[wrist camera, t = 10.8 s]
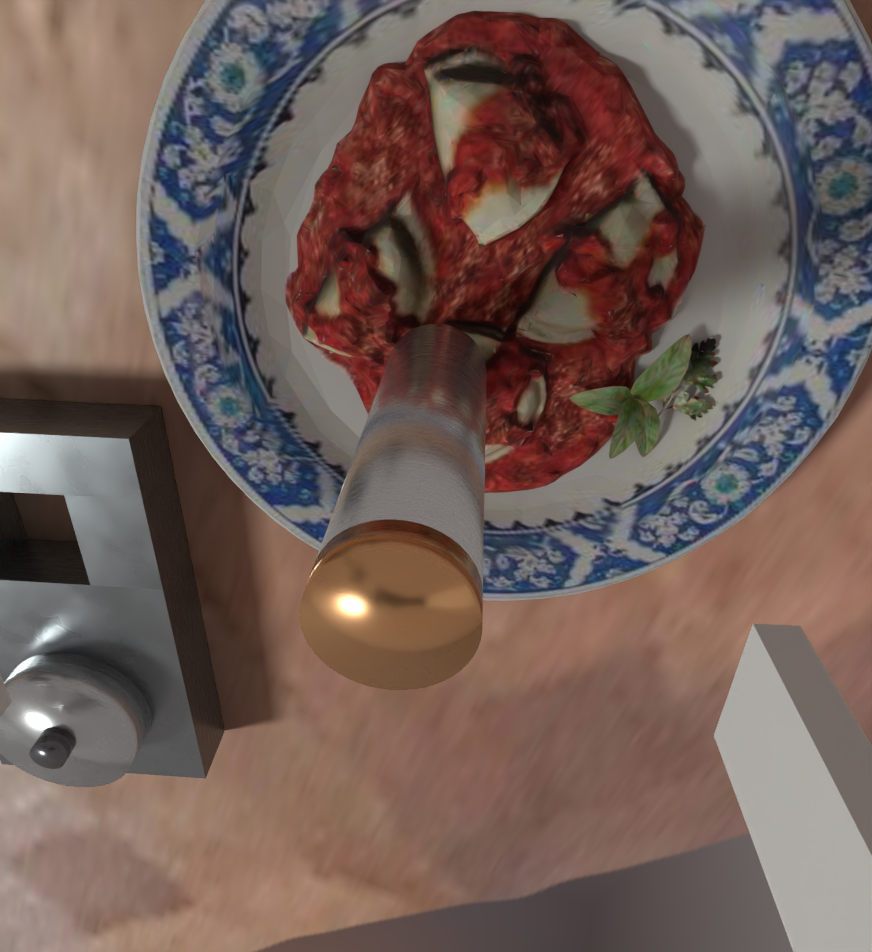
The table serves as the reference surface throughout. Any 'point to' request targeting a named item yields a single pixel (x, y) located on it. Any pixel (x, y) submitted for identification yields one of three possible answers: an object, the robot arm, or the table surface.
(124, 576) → the block
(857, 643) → the table surface
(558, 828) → the table surface
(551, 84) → the ceramic plate
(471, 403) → the pin
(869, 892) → the robot arm
